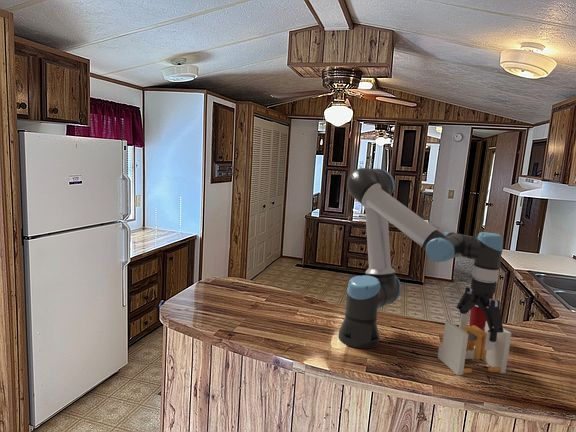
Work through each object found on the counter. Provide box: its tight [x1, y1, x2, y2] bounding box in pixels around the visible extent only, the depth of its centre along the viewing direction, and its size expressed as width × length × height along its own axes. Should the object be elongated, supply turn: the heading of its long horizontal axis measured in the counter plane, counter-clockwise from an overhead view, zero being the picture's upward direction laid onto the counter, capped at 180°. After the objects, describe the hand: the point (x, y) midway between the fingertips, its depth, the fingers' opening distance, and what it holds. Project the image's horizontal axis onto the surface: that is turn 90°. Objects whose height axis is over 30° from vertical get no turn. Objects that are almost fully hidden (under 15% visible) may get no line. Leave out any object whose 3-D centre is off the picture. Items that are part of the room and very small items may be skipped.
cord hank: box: [465, 324, 487, 360], centre depth 134 cm, size 8×4×9 cm, turn 11°
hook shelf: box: [437, 321, 512, 376], centre depth 135 cm, size 18×12×14 cm, turn 102°
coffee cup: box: [468, 305, 489, 331], centre depth 159 cm, size 8×8×15 cm
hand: (474, 340), depth 134 cm, fingers open, 13 cm apart
